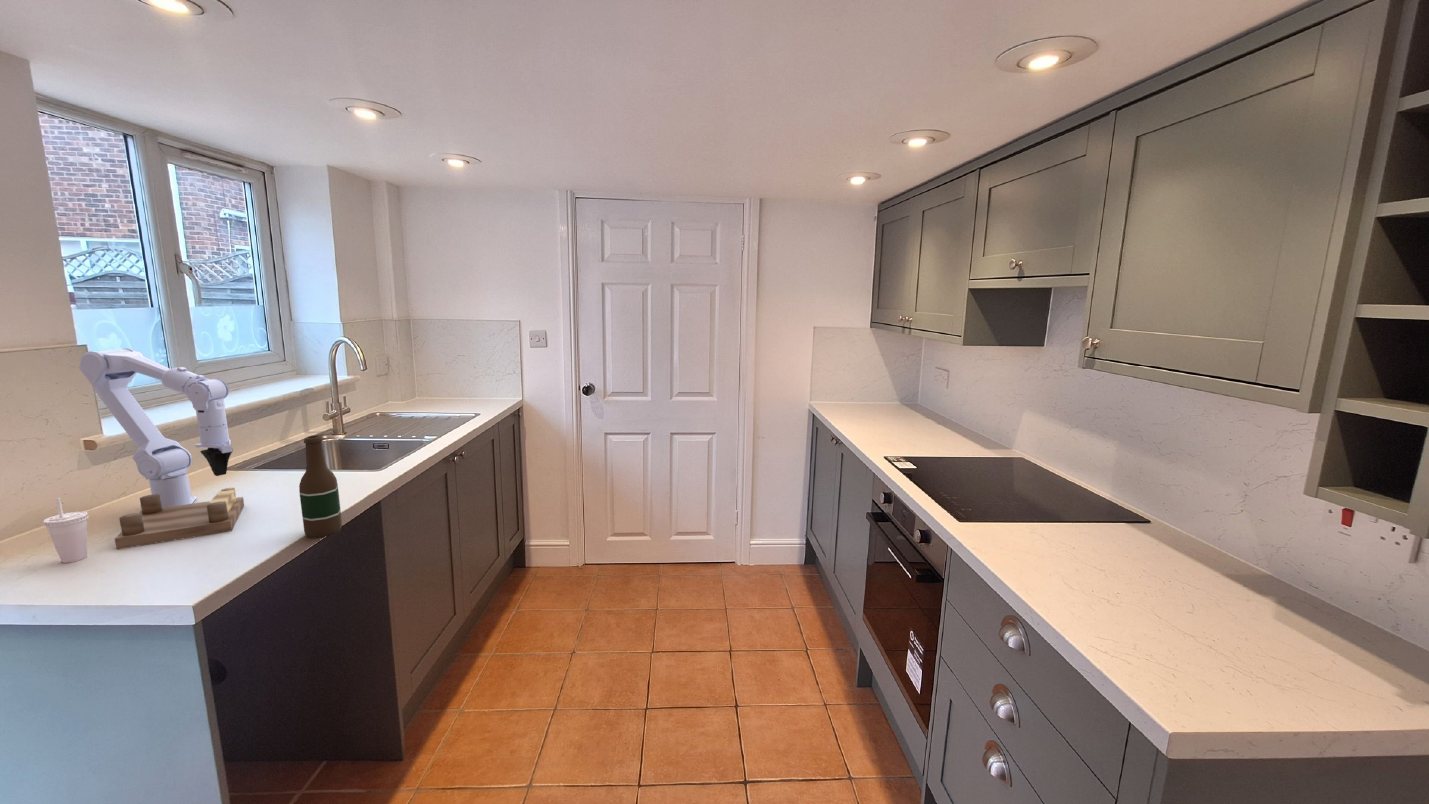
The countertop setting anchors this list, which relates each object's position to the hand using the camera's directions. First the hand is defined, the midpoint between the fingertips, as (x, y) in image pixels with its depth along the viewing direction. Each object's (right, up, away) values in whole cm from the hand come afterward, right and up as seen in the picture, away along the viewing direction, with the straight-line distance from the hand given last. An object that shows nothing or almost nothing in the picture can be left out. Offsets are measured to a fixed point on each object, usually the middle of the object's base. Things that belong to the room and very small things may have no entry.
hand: (220, 474), depth 150 cm
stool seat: (0, -11, -10) cm, 15 cm away
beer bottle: (+37, -13, -12) cm, 41 cm away
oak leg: (+5, -8, -4) cm, 10 cm away
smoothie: (-7, -15, -28) cm, 33 cm away
